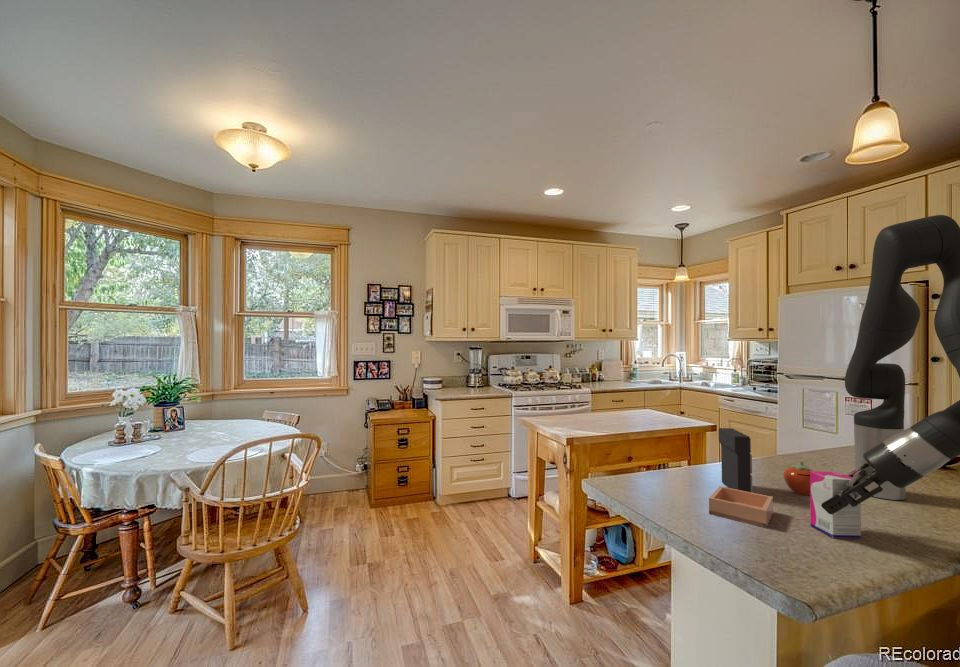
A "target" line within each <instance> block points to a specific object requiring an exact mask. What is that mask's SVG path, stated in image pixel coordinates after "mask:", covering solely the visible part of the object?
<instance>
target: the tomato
mask: <svg viewBox="0 0 960 667" xmlns="http://www.w3.org/2000/svg"><path fill="white" fill-rule="evenodd" d="M810 471H814V470H813V469H811V468H810V467H809V466H808V465H806V464H804V462H803V461H802V460H799V461H798V463H797V464H792V465H791V466H789V467H787V468H785V470H784V471H783V474H782V475H783V476H782V477H783V479H784V482H785V484H786V485H787V487H788V488H789V490H791V491H792V492H793V493H795V494H798V495H803V496H810Z"/></svg>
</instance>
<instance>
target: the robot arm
mask: <svg viewBox="0 0 960 667" xmlns="http://www.w3.org/2000/svg"><path fill="white" fill-rule="evenodd" d="M933 264H934V265H935V264H936V266H937V267H938V268H939V270H940V272H941V275H942V279H943V280H942V281H943V286H942V292H941V296H940V299H939V302H938V304H937V306H936V310H935V313H934V318H933V325H934V326H933V327H934V331H935V334H936V337H937V338H938V340H939V342H940V344H941V347H942V349H943V350H944V353H945V355H946V357H947V358H948V360H949V362H950V363H951V365H952V366H953V367H954V368H955V370H956V372H957V375H958V377H959V379H960V225H959V224H958V222H957V221H956V220H955V219H954V218H952V217H950V216H948V215H944V214H936V215H929V216H925V217H921V218H917V219H913V220H908V221H904V222H899V223H895V224H891V225H888V226H886V227H883V228H882V229H881V230H880V231H879V232H878V233H877V236H876V238H875V241H874V246H873V252H872V262H871V272H870V283H869V285H868V286H869V287H868V291H867V295H866V301H865V304H864V308H863V311H862V314H861V318H860V323H859V329H858V334H857V339H856V343H855V348H854V350H853V353H852V354H851V355H852V356H851V357H850V358H851V359H850V360H849V363H848V365H847V368H846V371H845V372H846V373H845V377H844V387H845V391H846V392H847V394H849V396H851V397H853V398H857V399H867V400H869V399H870V400H882V403H880V404H879V405H878V406H876V407H873V408H871V409H867V410H861V411H857V412H855V413H854V415H853V436H854V439H853V440H854V441H853V442H854V470H852V471H851V472H849V473H847V474H846V475H847V476H850V477H853V478H852V479H850V480H849V481H848V482H847V483H845V484H844V487H845V488H844V489H843V490H842V491H840V492H839V493H838V494H837V495H835V496H833V497H832V498H830V499H828V500H827V501H825V502H823V503H822V505H821V506H822V508H823V509H824V510H825V511H827V512H828V513H829V514H834V513H836V512H837V511H839V510H841V509H843V508H844V507H846V506H848V505H849V506H852V507H854V506H857V505H858V504H860V503H861V504H862V503H863V502H865V501H866V500H869V498H871V497H875V498H879V499H884V500H885V499H886V500H892V501H902V500H903V501H904V500H906V499H907V490H906V489H907V488H906V487H908V486H910V485H912V484H914V483H915V482H917V481H919V480H922V478H924V477H926V476H928V475H929V474H932V473H934V472H935V471H937V470H938V469H940V468H942V467H943V466H944V465H945V464H947V463H948V462H950V461H951V460H953V459H954V458H956V457H958V456H960V399H959V400H957V401H955V402H954V403H953V404H951V405H949V406H948V407H947V408H945V409H942V410H939V411H936V412H934V413H932V414H930V415H927V416H926V417H924V418H923V419H921V420H920V421H918V422H916V423H915V424H913V425H912V426H910V427H908V428H905V395H906V375H905V372H904V369H903V368H902V367H901V366H900V365H899V364H897V363H884V362H883V363H881V362H879V361H881V360H882V359H884V358H886V357H888V356H889V355H891V354H892V353H894V352H896V351H897V350H899V349H901V348H902V347H905V345H906V344H908V343H909V342H910V341H911V340H912V338H913V337H914V335H915V333H916V330H917V327H918V324H919V321H920V319H921V309H920V307H919V305H918V303H917V302H916V300H914V298H913V297H912V296H911V295H910V294H909V293H908V292H907V290H905V289H904V288H903V286H902V277H903V274H904V273H905V272H906V271H907V270H908V269H914V268H919V267H924V266H925V267H926V266H928V265H929V266H930V265H933ZM850 493H852V494H853V495H854V498H852V497H851V496H850V495H849V494H850Z"/></svg>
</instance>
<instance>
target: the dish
mask: <svg viewBox="0 0 960 667" xmlns="http://www.w3.org/2000/svg"><path fill="white" fill-rule="evenodd" d="M708 514H709V515H712V516H716V517H720V518H725V519H729V520H733V521H737V522H740V523H744V524H749V525H753V526H756V527H760V528H765V529H767V528H768V525H769V523H770V521H771V518H772V516H773V515H774V496H772V495H771V496H769V495H765V494H760V493H756V492H753V493H751V492H746V491H741V490H737V489H732V488H728V487H727V486H726V487H725V486H723V485H722V486H721V485H720V486H718V487H717V488H716V489H715V490H714V492H712V494H711V495H710V496H709V497H708Z"/></svg>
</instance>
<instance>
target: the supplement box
mask: <svg viewBox="0 0 960 667" xmlns="http://www.w3.org/2000/svg"><path fill="white" fill-rule="evenodd" d="M852 478H853V477H850V476H847V474H844V473H841V472H838V471H819V470H816V471H814V470H813V471H810V495H809V499H810V505H809V507H810V508H809V509H810V510H809V512H810V526H811V527H812V528H813V529H816V530H818V531H819V532H821V533H823V534H825V535H827V536H829V537H830V538H833V539H861V538H862V520H861V519H862V516H861V515H862V514H861V513H862V512H861V511H862V510H861V507H862V506H861V504H862V502H861V503H860V504H858V505H857V506H854V507H852V506H849V505H848V506H846V507H844V508H843V509H841V510H839V511H837V512H836V513H834V514H829V513H828V512H827V511H825V510H824V509H823V508H822V506H821V505H822V503H823V502H825V501H827V500H828V499H830V498H832V497H833V496H835V495H837V494H838V493H839V492H840V491H842V490H843V489H844V488H845V487H844V484H845V483H847V482H848V481H849V480H850V479H852ZM849 495H850V496H851V497H852V498H854V495H853V494H852V493H850V494H849Z"/></svg>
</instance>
